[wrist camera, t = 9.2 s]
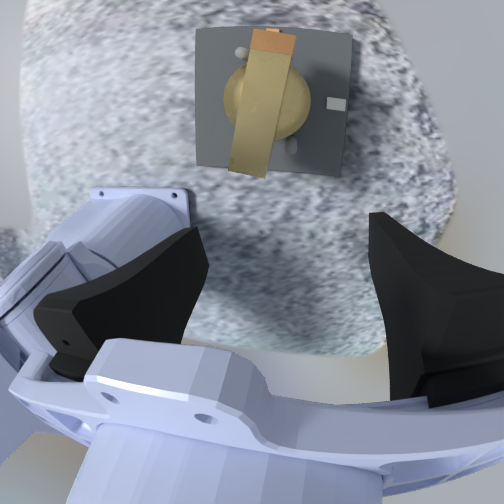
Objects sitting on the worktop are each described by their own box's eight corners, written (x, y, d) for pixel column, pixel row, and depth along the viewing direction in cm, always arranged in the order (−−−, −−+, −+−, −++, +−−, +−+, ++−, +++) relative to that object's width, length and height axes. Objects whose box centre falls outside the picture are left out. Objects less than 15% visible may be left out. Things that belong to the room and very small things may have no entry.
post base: (199, 162, 21) (184, 177, 18) (199, 30, 15) (181, 22, 12) (338, 173, 20) (345, 190, 17) (350, 36, 14) (361, 28, 11)
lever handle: (295, 164, 17) (295, 186, 14) (217, 147, 17) (197, 165, 14) (322, 52, 13) (330, 44, 10) (236, 37, 13) (220, 24, 10)
